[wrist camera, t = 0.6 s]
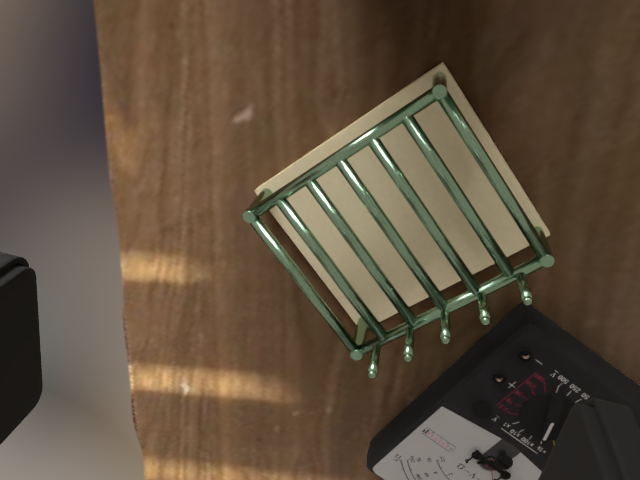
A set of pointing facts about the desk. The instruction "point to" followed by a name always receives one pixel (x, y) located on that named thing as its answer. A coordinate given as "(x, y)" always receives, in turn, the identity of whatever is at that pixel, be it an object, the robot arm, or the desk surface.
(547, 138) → the desk surface
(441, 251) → the dish rack
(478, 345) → the multimeter
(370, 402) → the desk surface
